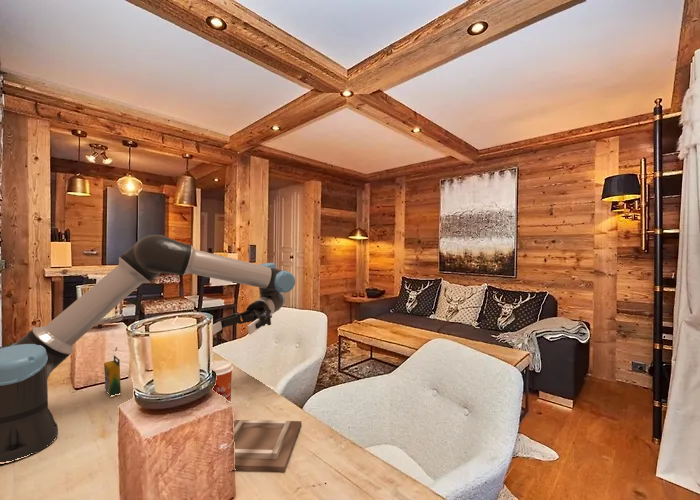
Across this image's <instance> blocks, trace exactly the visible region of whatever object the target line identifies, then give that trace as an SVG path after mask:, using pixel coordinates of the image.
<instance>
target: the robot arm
mask: <svg viewBox="0 0 700 500" xmlns="http://www.w3.org/2000/svg"><path fill="white" fill-rule="evenodd" d="M161 274H171V275H178V276H185V275H187V274H190V275H196V276H201V277H205V278H209V279H210V278H211V279H215V280H220V281H225V282H230V283H231V282H232V283H236V284H240V285H244V286H251V287H257V288H258V289H259V296H260V298H258V299H256V300H255V301H254V302H252V303H250V304H248V306H247V308H246V310H244V311H243V312H237V311H236V312H234V313H232V314H230V315H226V316H223V317H220V318H216V319H214V320H213V321H214V324H213V323H212V325H213V335H212V336H214V335H216V334H217V333H218V332H221V330H223V328H227V327H231V326H234V325H237V324H238V325H241V324H246V323H250V324H247V332H248V335H252V334H254V332H257V330H259V329H260V328H261V327H265V326H266V325H267V326H271V325H272V320H271V319H272V318H273V314H275V313H276V312H278V311H279V310H280V309H281V308H282V307H283V306H284V304H285V299H286V297H285V296H284V294H283V293H289V292H291V291H292V290H293V289H294V287H295V285H296V278H295V276H294V274H293V273H291V272H290V271H287V270H281V269H278V268H277V265H276V263H275V262H266V263H261V264H256V263H253V262H248V261H244V260H239V259H236V258H231V257H228V256H224V255H220V254H216V253H211V252H206V251H202V250H199V249H195V247H194V246H193V245H192V244H189V243H184V242H182V241H179V240H176V239H173V238H170V237H168V236H165V235H161V234H151V235H145V236H144V237H141V238H140V239H139V240H137V241H136V242H135V243H134V245H133V246H131V247H130V248H129V249H127V250H126V251H125V252H124V253H123V254H122V255H120V256H119V257H118V264H117V266H116V267H114V268H113V269H112V270H111V271H110V272H109V273H107V274H106V275H105V276H104V277H102V278H101V279H100V280H99V281H98V282H96V283H95V284H94V285H93V286H91V288H89V289H88V290H87V291H85V293H83V294H82V295H81V296H79V298H78V299H76V300H75V301H73V302H72V303H71V304H70V305H69V306H68V307H66V308H65V309H64V310H63V311H62V312H61V313H59V314H58V315H57V316H55V318H54V319H52V320H51V321H50V322H49V323H47V324H46V325H45V326H36V327H34V328H33V329H30V331H28V332H27V333H26V334H25V335H24V336H22V337H21V338H20V339H19V340H18V341H16V342H14V343H12V344H11V345H10V346H5V347H2V348H0V462H6V461H12V460H15V459H17V458H21V457H24V456H27V455H29V454H31V453H34V452H37V451H39V450H41V449H42V448H44V447H46V446H47V445H49V444H50V443H51V442H52V441H54V439H55V438H56V437H57V435H58V436H59V426H58V424H57V422H56V421H55V418H54V415H53V414H52V412H51V410H50V408H49V404H48V403H49V401H48V400H49V397H48V396H49V394H48V392H49V389H48V378H49V377H50V375H51V373H52V372H53V371H54V370H56V368H57V367H58V366H60V364H62V363H63V362H64V361H65V360H66V359H67V358H68V357H70V355H72V354H73V346H74V345H75V344H76V343H77V342H78V341H79V340H80V339H82V338H83V336H85V335H86V334H87V333H88V332H89V331H90V330H91V329H93V328H94V327H95V326H96V325H97V324H98V323H99V322H101V321H102V319H104V318H105V317H106V316H107V315H108V314H109V313H110V312H111V311H112V310H114V309H115V308H116V307H117V306H118V305H119V304H120V303H122V302H123V301H124V300H125V299H126V298H127V297H129V295H130V294H131V293H133V292H134V291H135V290H136V289H138V288H139V287H140V286H141V285H142V284H151V282H152V281H153V280H155V279H156V278H157V277H158V276H159V275H161ZM57 438H58V437H57ZM54 442H55V441H54ZM50 445H51V444H50ZM50 445H49V446H50ZM47 447H48V446H47ZM47 447H46V448H47ZM44 449H45V448H44ZM41 451H42V450H41ZM39 452H40V451H39ZM37 453H38V452H37Z"/></svg>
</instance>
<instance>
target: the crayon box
mask: <svg viewBox="0 0 700 500" xmlns="http://www.w3.org/2000/svg"><path fill="white" fill-rule="evenodd" d="M120 363H121V362H120V359H119V358H118V357H117V356H116V355H113V360H111V361H110V360H109V361H105V362H103V366H104V367H103V370H104V390H105V389H106V391H107V392H108V393H109V394H110V396H111V395H115V394H119V393H121V394H122V387H121V364H120ZM106 391H105V392H106ZM107 392H106V393H107ZM108 393H107V394H108ZM110 396H109V397H110Z"/></svg>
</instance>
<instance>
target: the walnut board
mask: <svg viewBox="0 0 700 500" xmlns="http://www.w3.org/2000/svg"><path fill="white" fill-rule="evenodd" d="M233 422H234V442H235V469H236V472H262V473H263V472H264V473H265V472H267V473H285V472H286V470H287V467H288V464H289V462H290V460H291V459H290V458H291V456H292V454H293V450H294V447H295V445H296V442H297V439H298V436H299V434H300V430H301V429H302V421H300V420H270V419H269V420H265V419H264V420H262V419H235V420H234V421H233ZM300 428H301V429H300Z"/></svg>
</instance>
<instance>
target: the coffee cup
mask: <svg viewBox="0 0 700 500" xmlns="http://www.w3.org/2000/svg"><path fill="white" fill-rule="evenodd" d="M211 362H212V363H211V369H212V370H213V371H215V372H216V375H217V380H216V385H215V386H214V388H213V390H214V391H215V392H217V393H218V394H220V395H222V396H223V397H225V398H226V399H227V400H228V401H230V402H231V400H232V399H231V398H232V381H233V380H232V379H233V378H232V377H233V370H234V366H233V365H232V362H230V361H228V360H215V361H211Z"/></svg>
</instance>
